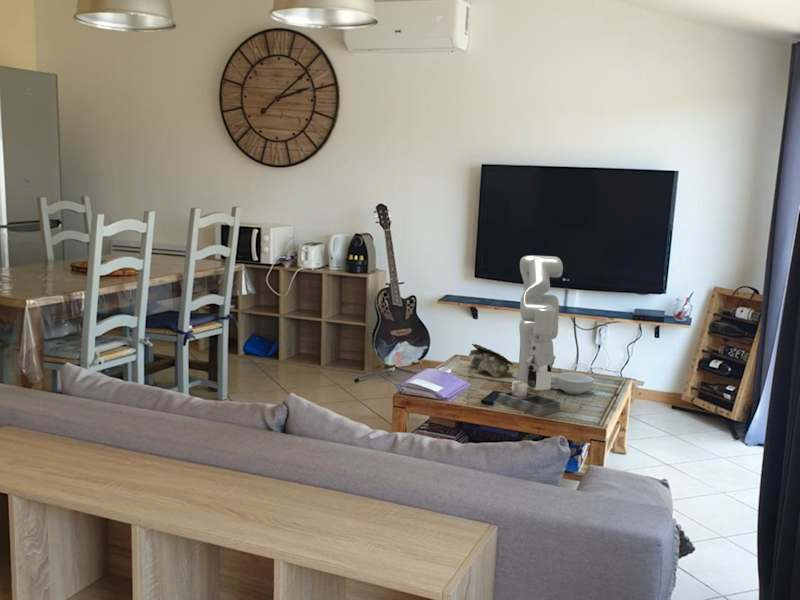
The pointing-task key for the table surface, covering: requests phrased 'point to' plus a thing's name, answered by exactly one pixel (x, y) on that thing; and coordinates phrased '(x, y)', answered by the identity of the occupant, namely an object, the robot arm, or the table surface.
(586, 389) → the cereal bowl
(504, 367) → the hollow geode rock
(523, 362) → the robot arm
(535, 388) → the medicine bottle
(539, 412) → the rail rack
